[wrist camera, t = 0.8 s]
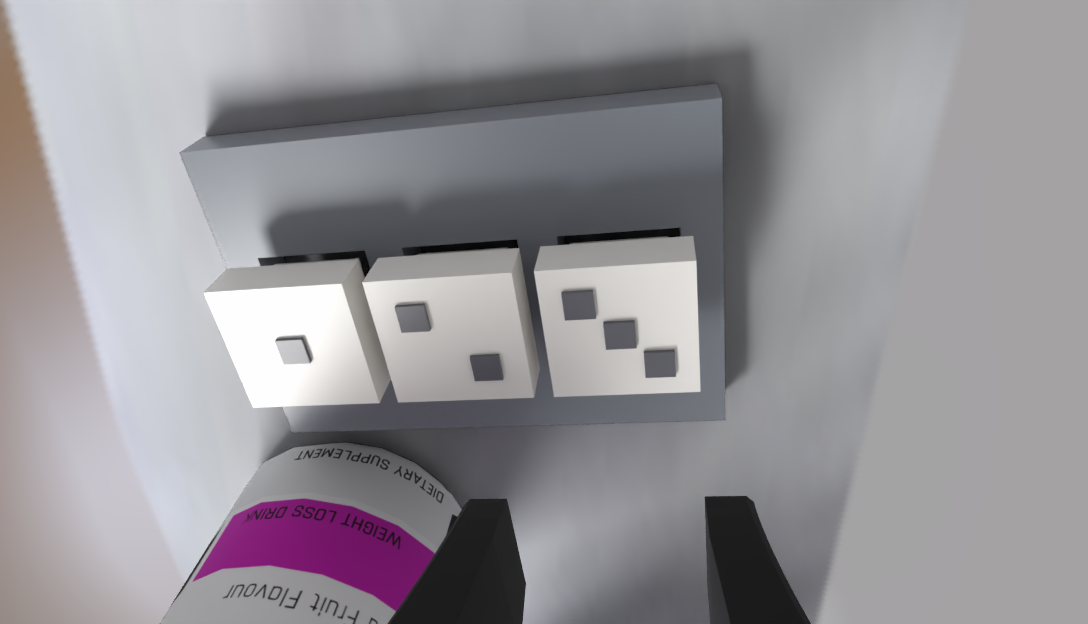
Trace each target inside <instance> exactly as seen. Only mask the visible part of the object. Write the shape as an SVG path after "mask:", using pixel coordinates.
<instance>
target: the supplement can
mask: <svg viewBox="0 0 1088 624" xmlns="http://www.w3.org/2000/svg"><path fill="white" fill-rule="evenodd" d="M461 510H462V509H461V508H460V506H459V505H458V503H457V502H456V500H455V499H454V497H453V495H452V494H451V493H449V492H448V491H447V490H446V489H445V488H444V486H443V485H442V484H441V483H440V482H439V481H437V480H436V479H435V478H434V477H432V476H431V475H430V474H429V473H427V472H426V471H425V470H424V469H422V468H421V467H420V466H419V465H417V464H416V463H414V462H412V461H409V460H407V459H405V458H403V457H400V456H398V455H396V454H394V453H391V452H389V451H387V450H384V449H382V448H377V447H371V446H365V445H359V444H353V443H347V442H343V443H330V444H321V445H312V446H303V447H294V448H292V449H290V450H288V451H286V452H284V453H282V454H280V455H278V456H276V457H274V458H272V459H270V460H268V461H266V462H264V463H263V464H262V465H261V466H260V468H259V469H258V470H257V472H256V473H255V475H254V476H253V477H252V479H251V480H250V481H249V483H248V484H247V485H246V487H245V488H244V490H243V492H242V493H241V495H240V496H239V498H238V500H237V501H236V503H235V504H234V506H233V508H232V509H231V511H230V512H229V514H228V515H227V517H226V519H225V520H224V522H223V523H222V525H221V527H220V528H219V530H218V531H217V533H216V535H215V536H214V538H213V539H212V541H211V543H210V544H209V546H208V547H207V549H206V550H205V552H204V554H203V555H202V557H201V558H200V560H199V562H198V563H197V565H196V566H195V568H194V570H193V571H192V573H191V574H190V576H189V578H188V579H187V581H186V582H185V584H184V586H183V587H182V589H181V590H180V592H179V594H178V595H177V597H176V598H175V600H174V601H173V603H172V605H171V606H170V608H169V609H168V611H167V613H166V614H165V616H164V617H163V619H162V621H161V622H160V624H387V623H388V622H389V621H390V619H391V618H392V617H393V615H394V614H395V612H396V611H397V609H398V608H399V607H400V605H401V604H402V602H403V601H404V599H405V598H406V596H407V595H408V593H409V592H410V590H411V589H412V587H413V586H414V585H415V583H416V582H417V580H418V579H419V577H420V576H421V574H422V573H423V571H424V570H425V568H426V567H427V565H428V564H429V562H430V560H431V559H432V557H433V556H434V554H435V553H436V551H437V550H438V548H439V546H440V545H441V543H442V542H443V540H444V538H445V537H446V535H447V533H448V532H449V530H450V528H451V527H452V525H453V523H454V522H455V520H456V518H457V517H458V515H459V513H460V512H461Z"/></svg>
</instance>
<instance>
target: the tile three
mask: <svg viewBox="0 0 1088 624" xmlns="http://www.w3.org/2000/svg"><path fill="white" fill-rule="evenodd" d="M534 275H535V282H536V288H537V294H538V300H539V306H540V313H541V319H542V325H543V331H544V337H545V344H546V350H547V356H548V362H549V368H550V375H551V381H552V387H553V393H554V397H570V396H598V395H627V394H655V393H683V392H701V391H700V360H699V328H698V297H697V266H696V254H695V246H694V238H693V236H683V237H669V238H668V236H662V237H648V238H634V239H620V240H606V241H592V242H577V243H571V244H569V245H555V246H541V247H540V250H539V254H538V257H537V261H536V265H535V269H534Z"/></svg>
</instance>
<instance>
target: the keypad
mask: <svg viewBox="0 0 1088 624" xmlns="http://www.w3.org/2000/svg"><path fill="white" fill-rule="evenodd" d="M180 155H181V158H182V160H183V163H184V165H185V168H186V170H187V173H188V175H189V178H190V180H191V183H192V185H193V188H194V190H195V192H196V195H197V197H198V200H199V202H200V205H201V207H202V210H203V212H204V215H205V217H206V220H207V222H208V225H209V227H210V230H211V232H212V234H213V237H214V239H215V242H216V244H217V247H218V249H219V252H220V254H221V257H222V259H223V262H224V264H225V267H226V269H228V268H242V267H257V266H271V265H274V264H280V263H285V260H284V257H283V256H295V255H308V254H322V253H336V252H350V251H364V250H365V253H366V256H367V260H368V263H369V267H370V269H371V268H372V266H373V265H374V263H375V262H376V260H377V259H378V258H385V257H399V256H413V255H417V254H421V253H420V249H419V246H433V245H447V244H460V243H474V242H488V241H502V240H516V239H517V244H518V248H519V249H520V255H521V261H522V267H523V272H524V278H525V284H526V290H527V296H528V302H529V308H530V314H531V320H532V325H533V331H534V337H535V343H536V349H537V355H538V361H539V367H540V370H539V375H538V380H537V385H536V390H535V395H534V398H513V399H485V400H456V401H428V402H399V403H398V400H397V397H396V394H395V390H394V387H393V384H392V380H390V382H389V384H388V386H387V389H386V391H385V393H384V395H383V397H382V399H381V401H380V403H371V404H343V405H314V406H286V407H283V410H284V412H285V415H286V417H287V420H288V422H289V425H290V427H291V429H292V432H293V433H300V432H335V431H370V430H404V429H439V428H474V427H509V426H544V425H579V424H614V423H648V422H683V421H718V420H725V333H724V234H723V136H722V96H721V93H720V90H719V87H718V83H716V84H706V85H696V86H687V87H677V88H668V89H658V90H648V91H639V92H629V93H619V94H610V95H600V96H591V97H581V98H571V99H562V100H552V101H543V102H533V103H523V104H514V105H504V106H495V107H485V108H475V109H466V110H456V111H446V112H437V113H427V114H418V115H408V116H398V117H389V118H379V119H370V120H360V121H350V122H341V123H331V124H322V125H312V126H302V127H293V128H283V129H274V130H264V131H254V132H245V133H235V134H225V135H216V136H206V137H203V138H201V139H200V140H198V141H197V142H195V143H194V144H192V145H190V146H189V147H187V148H186V149H184V150H183V151H181V152H180ZM668 228H679V229H680V237H683V236H693V238H694V246H695V254H696V266H697V297H698V328H699V360H700V391H701V392H683V393H655V394H627V395H598V396H570V397H554V393H553V387H552V381H551V375H550V368H549V362H548V356H547V350H546V344H545V337H544V331H543V325H542V319H541V313H540V306H539V300H538V294H537V288H536V282H535V275H534V269H535V265H536V261H537V257H538V254H539V250H540V247H541V246H555V245H565V241H564V236H571V235H585V234H598V233H612V232H626V231H640V230H654V229H668Z"/></svg>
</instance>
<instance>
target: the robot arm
mask: <svg viewBox="0 0 1088 624" xmlns="http://www.w3.org/2000/svg"><path fill="white" fill-rule="evenodd" d="M705 517H706V550H707V582H708V597H709V610H710V624H811V623H810V621H809V620H808V618H807V616H806V614H805V612H804V611H803V609H802V607H801V605H800V604H799V602H798V600H797V598H796V596H795V595H794V593H793V591H792V589H791V587H790V585H789V583H788V581H787V579H786V577H785V576H784V574H783V571H782V569H781V567H780V565H779V563H778V561H777V559H776V557H775V555H774V553H773V551H772V549H771V546H770V544H769V542H768V540H767V537H766V535H765V532H764V530H763V528H762V525H761V522H760V520H759V517H758V514H757V512H756V509H755V505H754V502H753V501H752V500H751V499H749V498H748V497H747V496H712V497H705ZM525 587H526V582H525V578H524V573H523V569H522V564H521V560H520V556H519V551H518V547H517V542H516V538H515V533H514V529H513V524H512V520H511V515H510V511H509V506H508V502H507V499H470V500H469V501H468V502H467V503H466V504H465V505H464V507H463V508H462V510H461V512H460V513H459V515H458V517H457V518H456V520H455V522H454V523H453V525H452V527H451V528H450V530H449V532H448V533H447V535H446V537H445V538H444V540H443V542H442V543H441V545H440V546H439V548H438V550H437V551H436V553H435V554H434V556H433V557H432V559H431V560H430V562H429V564H428V565H427V567H426V568H425V570H424V571H423V573H422V574H421V576H420V577H419V579H418V580H417V582H416V583H415V585H414V586H413V587H412V589H411V590H410V592H409V593H408V595H407V596H406V598H405V599H404V601H403V602H402V604H401V605H400V607H399V608H398V609H397V611H396V612H395V614H394V615H393V617H392V618H391V619H390V621H389V622H388V623H387V624H522V621H523V610H524V599H525Z"/></svg>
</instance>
